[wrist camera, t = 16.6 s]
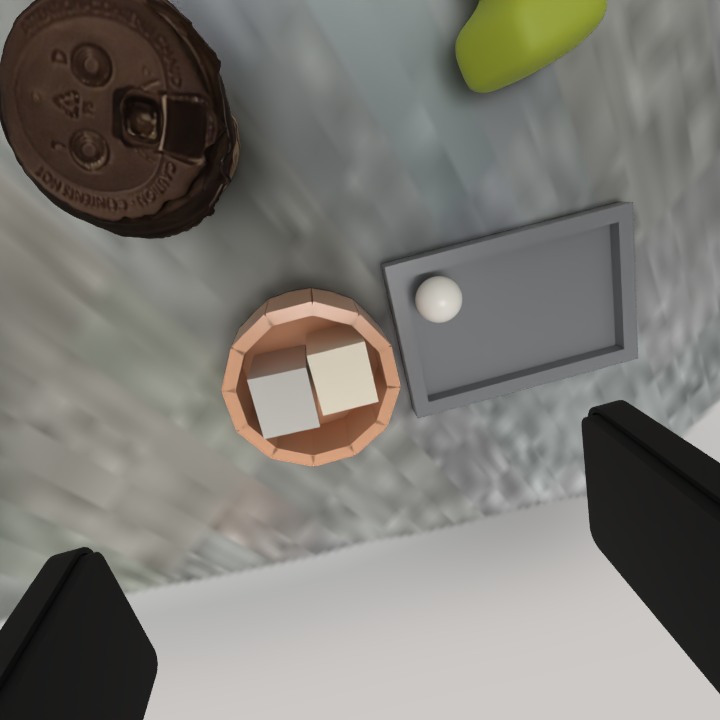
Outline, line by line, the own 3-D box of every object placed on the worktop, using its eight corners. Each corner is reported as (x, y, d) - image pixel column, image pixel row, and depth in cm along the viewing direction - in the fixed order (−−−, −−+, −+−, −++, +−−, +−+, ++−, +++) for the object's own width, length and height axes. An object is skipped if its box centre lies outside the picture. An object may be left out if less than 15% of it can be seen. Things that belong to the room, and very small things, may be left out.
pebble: (450, 267, 32) (464, 275, 29) (457, 310, 33) (472, 321, 30) (406, 278, 32) (417, 287, 29) (415, 321, 33) (426, 333, 30)
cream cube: (356, 321, 33) (364, 341, 28) (368, 374, 34) (378, 401, 30) (305, 333, 32) (306, 355, 28) (320, 387, 34) (323, 415, 30)
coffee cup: (292, 159, 29) (288, 139, 17) (193, 250, 30) (123, 293, 18) (183, 25, 26) (84, -114, 14) (78, 131, 27) (-98, 87, 15)
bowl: (366, 271, 32) (377, 284, 28) (399, 409, 36) (412, 439, 31) (211, 311, 32) (198, 331, 27) (260, 447, 35) (255, 482, 31)
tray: (618, 201, 32) (632, 202, 31) (624, 351, 36) (638, 358, 35) (380, 263, 32) (384, 267, 31) (413, 409, 36) (417, 418, 34)
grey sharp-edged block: (305, 344, 33) (305, 367, 28) (317, 396, 34) (320, 426, 30) (253, 355, 32) (247, 380, 28) (268, 407, 34) (264, 439, 30)
